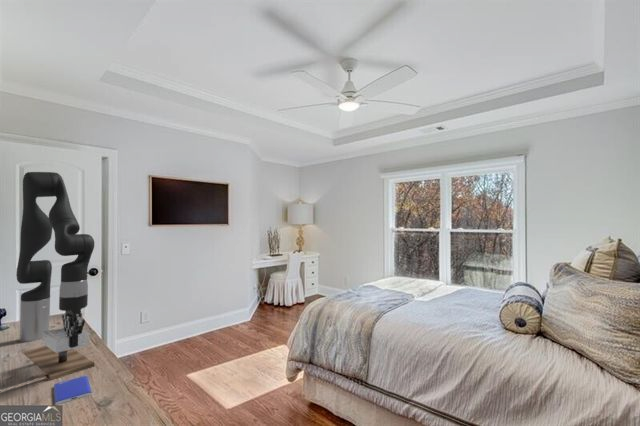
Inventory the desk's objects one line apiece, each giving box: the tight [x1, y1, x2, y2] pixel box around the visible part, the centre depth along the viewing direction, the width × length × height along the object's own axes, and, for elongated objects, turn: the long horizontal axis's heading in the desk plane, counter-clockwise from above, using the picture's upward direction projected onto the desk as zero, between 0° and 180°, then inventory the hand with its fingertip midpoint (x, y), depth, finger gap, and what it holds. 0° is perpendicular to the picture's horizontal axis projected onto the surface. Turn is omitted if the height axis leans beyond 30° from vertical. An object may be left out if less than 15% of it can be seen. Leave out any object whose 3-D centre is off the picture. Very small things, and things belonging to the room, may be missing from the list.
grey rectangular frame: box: [42, 326, 90, 353], centre depth 109 cm, size 14×9×4 cm, turn 55°
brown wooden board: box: [22, 345, 95, 381], centre depth 114 cm, size 32×12×1 cm, turn 55°
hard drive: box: [53, 375, 93, 406], centre depth 94 cm, size 2×8×12 cm
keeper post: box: [58, 350, 67, 363], centre depth 110 cm, size 3×3×6 cm
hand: (72, 346), depth 105 cm, fingers closed on grey rectangular frame, 1 cm apart
